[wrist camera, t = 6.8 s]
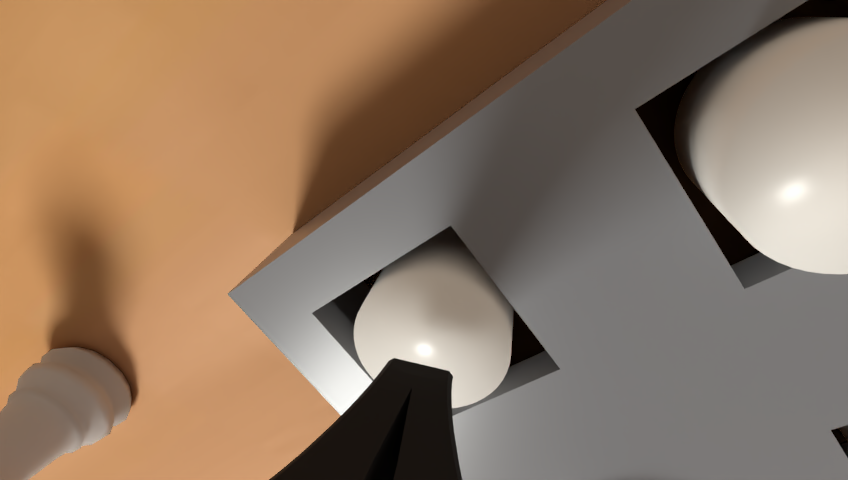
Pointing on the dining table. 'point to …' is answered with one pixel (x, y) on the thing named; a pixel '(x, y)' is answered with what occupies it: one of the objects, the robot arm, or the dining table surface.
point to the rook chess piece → (60, 409)
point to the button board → (587, 274)
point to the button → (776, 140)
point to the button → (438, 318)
